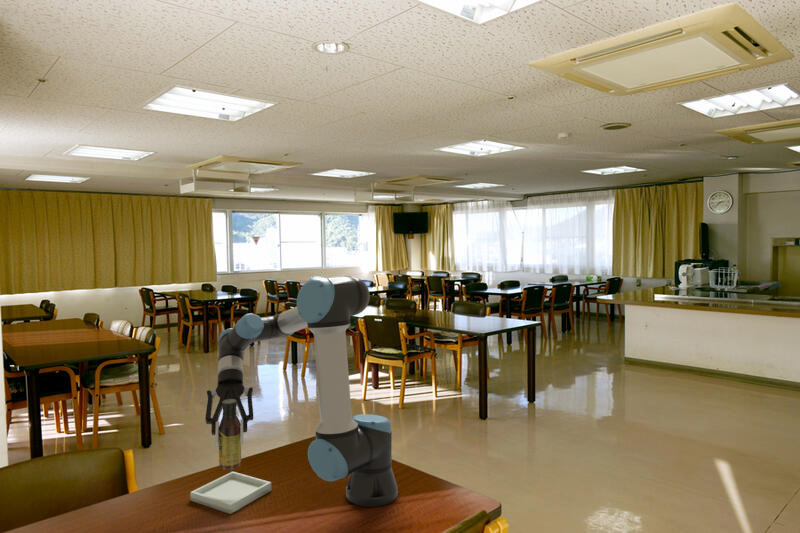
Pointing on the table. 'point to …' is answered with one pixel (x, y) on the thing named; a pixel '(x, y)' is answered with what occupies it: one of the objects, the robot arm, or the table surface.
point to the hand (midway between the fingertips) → (229, 443)
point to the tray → (230, 492)
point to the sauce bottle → (229, 437)
